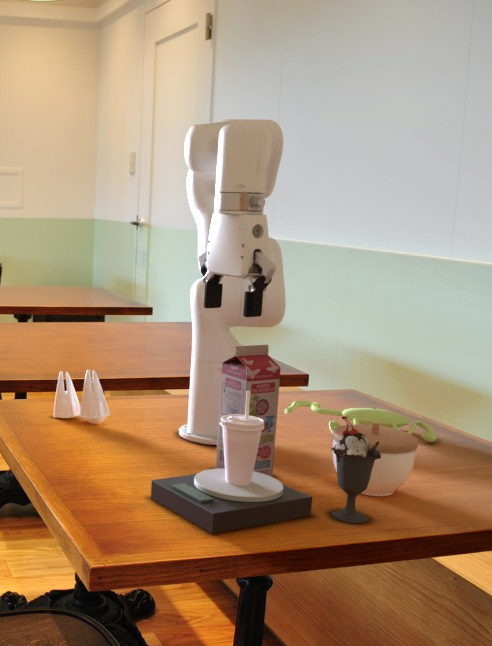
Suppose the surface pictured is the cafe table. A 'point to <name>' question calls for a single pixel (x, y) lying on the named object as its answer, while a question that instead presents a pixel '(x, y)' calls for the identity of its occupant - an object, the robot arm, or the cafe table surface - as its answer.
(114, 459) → the cafe table surface
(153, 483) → the scale
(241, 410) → the juice carton
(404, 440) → the lidded bowl
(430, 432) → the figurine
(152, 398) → the cafe table surface
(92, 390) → the shaker set
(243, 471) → the smoothie
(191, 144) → the robot arm
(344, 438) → the sundae
